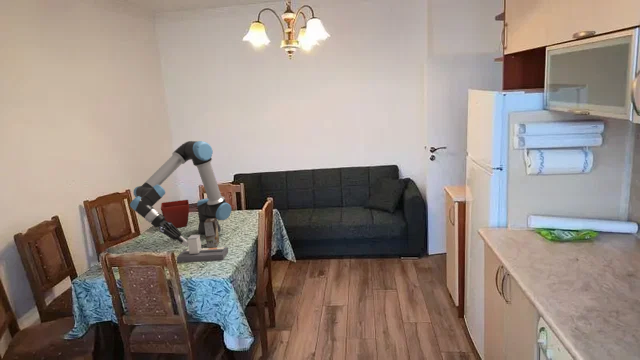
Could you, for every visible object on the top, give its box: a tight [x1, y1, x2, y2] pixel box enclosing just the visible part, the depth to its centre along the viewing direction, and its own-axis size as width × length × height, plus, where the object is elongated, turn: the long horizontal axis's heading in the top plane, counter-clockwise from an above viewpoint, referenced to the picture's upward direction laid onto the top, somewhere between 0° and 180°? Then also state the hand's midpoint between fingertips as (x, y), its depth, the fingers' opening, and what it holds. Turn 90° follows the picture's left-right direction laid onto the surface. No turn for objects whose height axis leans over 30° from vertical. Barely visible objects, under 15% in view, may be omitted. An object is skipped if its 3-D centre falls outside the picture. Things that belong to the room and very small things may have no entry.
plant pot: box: [160, 199, 190, 229], centre depth 309 cm, size 19×19×17 cm
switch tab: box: [186, 234, 202, 254], centre depth 241 cm, size 5×6×9 cm
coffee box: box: [204, 218, 220, 248], centre depth 261 cm, size 9×6×16 cm
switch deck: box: [176, 246, 229, 263], centre depth 242 cm, size 26×12×3 cm, turn 88°
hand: (187, 245), depth 241 cm, fingers closed
